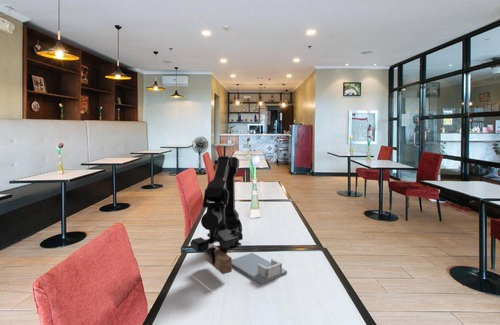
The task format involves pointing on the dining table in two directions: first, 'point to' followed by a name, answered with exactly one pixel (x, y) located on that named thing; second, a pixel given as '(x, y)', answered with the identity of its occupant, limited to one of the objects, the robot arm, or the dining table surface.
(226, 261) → the brown wooden block
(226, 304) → the dining table surface
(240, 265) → the bracket
